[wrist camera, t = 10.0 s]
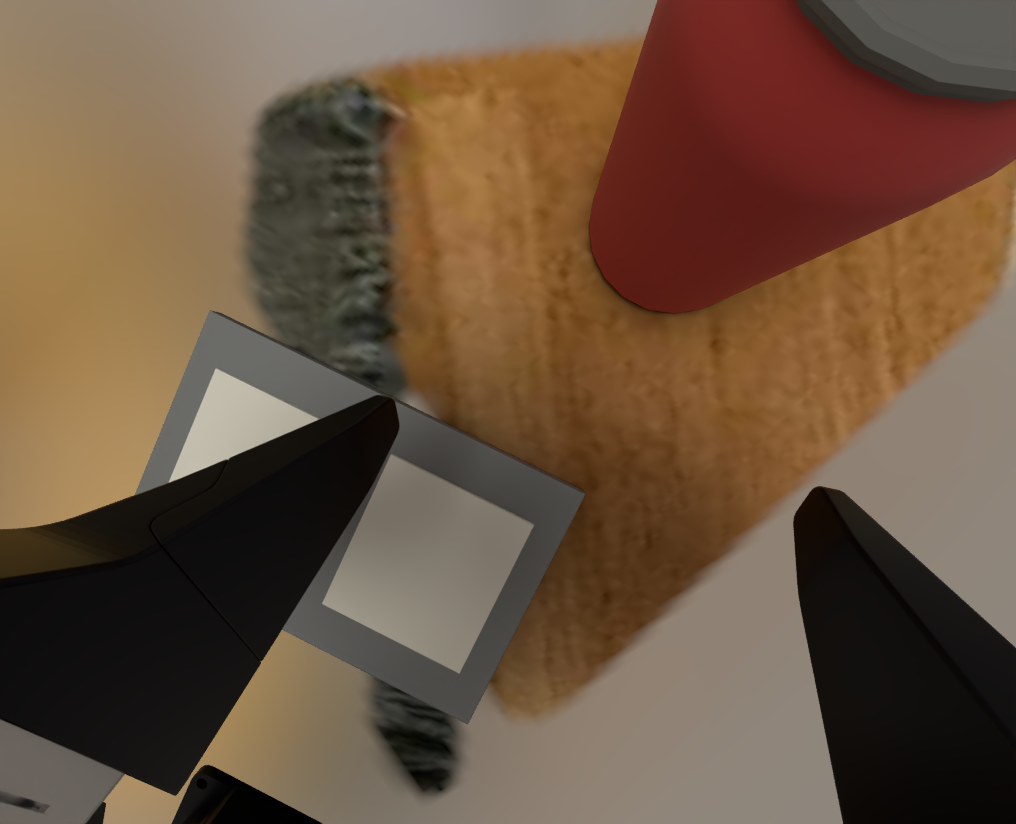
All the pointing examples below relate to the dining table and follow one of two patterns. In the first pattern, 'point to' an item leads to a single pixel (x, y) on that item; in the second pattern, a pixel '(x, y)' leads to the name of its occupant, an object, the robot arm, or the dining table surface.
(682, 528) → the dining table surface
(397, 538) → the label board
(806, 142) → the beer can
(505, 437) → the dining table surface
